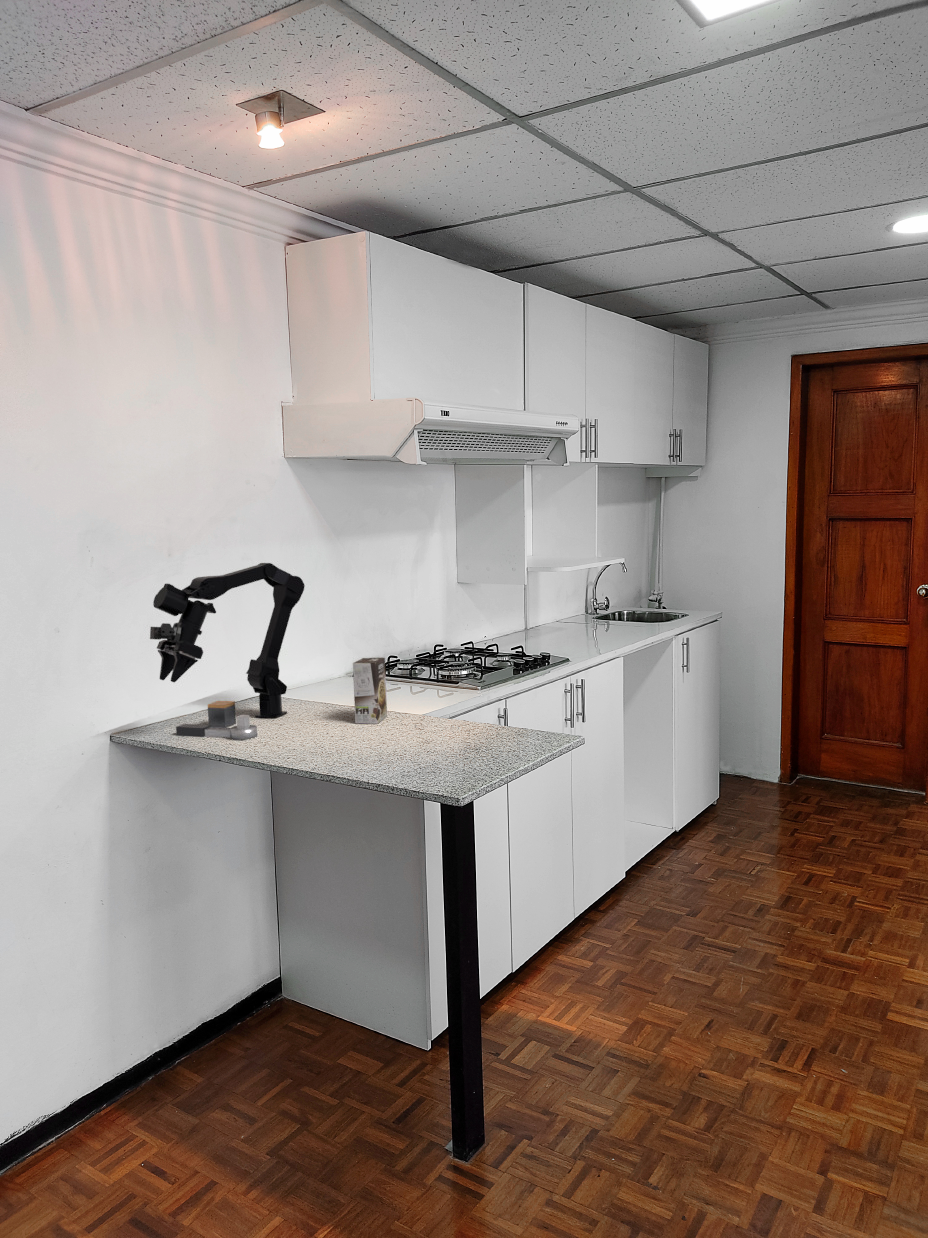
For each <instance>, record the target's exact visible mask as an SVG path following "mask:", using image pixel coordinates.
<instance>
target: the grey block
mask: <svg viewBox="0 0 928 1238" xmlns="http://www.w3.org/2000/svg"><path fill="white" fill-rule="evenodd" d="M207 717H208V718H207V719H208V725H211V727H222V728H230V727H231V726H234V725H237V714H236V702H235V701H234V700H217V701H214V702H211V703H209V704H207Z"/></svg>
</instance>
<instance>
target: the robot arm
mask: <svg viewBox="0 0 928 1238" xmlns="http://www.w3.org/2000/svg"><path fill="white" fill-rule="evenodd" d="M262 580H263V581H265V582H266V583H267V585H269V586H270V587H272V588H273V590H272V597H273V602H274V603H273V604H274V606H273V609H272V613H271V616H270V618H269V619H270V620H269V623H268V626H267V630H266V633H265V637H264V640H263V643H262V644H263V645H262V648H261V652H260V654H259V656H258V657H257V658H256V659H252V658H251V659H250V661H249V666H248V669H247V671H246V672H245V674H246V675H247V677H246V678H247V679H246V680H247V682H248V684H249V686H251V688H252V689H253V691H254V693H255V694H258V701H259V702H258V705H259V706H258V707H259V713H258V714H255V717H256V718H267V719H277V718H279V717H281V716H285V715H286V714H288V711H287V710H286V711H285V710H283V706H282V705H283V703H282V695H285V694H286V693H287V689H288V686H287V685H286V684H285V683H284V682H283V681H282V680H281V679H280V678H279V676H280V665H279V656H280V653H281V649H282V646H283V645H282V644H283V642H284V638H285V634H286V632H287V628H288V625H289V621H290V618H291V613H292V610H293V608H294V607H295V606H297V604H298V602H300V599H301V598H302V595H303V593H304V591H305V583H304V580H303V579H302V578H301V577H300V576H298V575H293V574H291V573H289V572H287V571H285V570H283V569H281V568H279V567H278V566H276V565H274V564H273V563H272V562H260V563H258V564H256V565H253V566H249V567H246V568H242V569H239V570H236V571H232V572H228V573H225V574H220V575H208V576H207V575H206V576H197V577H194V578H193V579H192V580H191V582H190V584H189V585H188V586H186V587H184V588H183V589H179V588H177V587H175V586H174V585H173V584H171V583H164V585H163V587H162V588H161V589H159V590H158V592H157V593H156V594H155V596H154V598H153V601H152V602H153V603H152V604H153V605H152V606H153V608H155V609H157V610H159V611H161V612H164V613H167V614H169V615H171V616H173V617H177V616H179V615H180V617H179V620H178V622H175V623H173V625H172V624H171V623H161V624H160V626H150V630H149V631H150V632H149V634H150V635H149V636H150V637H149V639H150V640H159V642H158V643H157V647H156V649H157V653H159V655H160V658H161V662H160V663H161V664H160V671H159V680H161V681H165V679H166V678H167V677H168V676H169V675H170V674H171V677H170V682H172V683H176V682H177V681H178V680H179V679H181V677H182V676H183V675H184V674H185V673H186V672H187V671H188V670H189V669H190V668H191V667H193V665H195V664H197V662H199V660H201V659H202V657H203V655H204V650H203V648H202V647H201V646H198V645H197V644H196V641H197V640H198V636H201V635H202V634H203V630H201V629H202V626H203V625H204V622H205V619H206V617H207V614H216V613H217V610H216V608H215V607H214V603H213V602H207V603H205V602H203V601H202V600H205V601H213V600H216V599H217V598H219V597H221V596H223V595H225V594H226V593H227V592H228V591H230V590H232V589H234V588H238V587H239V588H240V587H242V586H245V585H249V584H252V583H255V582H258V581H262ZM190 599H194V601H193V600H190ZM195 599H196V600H195Z"/></svg>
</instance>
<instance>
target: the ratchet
mask: <svg viewBox="0 0 928 1238" xmlns="http://www.w3.org/2000/svg"><path fill="white" fill-rule="evenodd" d="M175 730H176V731H175V732H176V736H178V737H179V736H180V737H181V736H183V737H184V736H185V737H197V738H198V737H200V738H204V736H205V737H207V738H222V737H225V738H226V737H227V739H231V740H232V739H233V741H246V740H245V739H249V740H252V739H251V738H253V739H255V737H256V738H257V737H258V727H257V725H255V724H250V714H240V715H236V725H235V726H234V725H233V726H232V727H227V728H222V727H211V725H209V724H198V723H197V724H195V723H194V724H193V723H183V724H180V725H177V726H176V727H175Z"/></svg>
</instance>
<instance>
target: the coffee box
mask: <svg viewBox="0 0 928 1238" xmlns="http://www.w3.org/2000/svg"><path fill="white" fill-rule="evenodd" d="M352 666H353V667H352V670H353V672H352V673H353V675H352V676H353V696H354V697H353V699H354V722H355V724H369V725H370V724H371V725H378V724H379V723H380V722H382V721H383V720H384V719H386V718H387V717H388V703H387V700H388V699H387V682H386V681H387V680H386V679H387V677H386V658H385V657H362V658H361V659H358V660H356V661H355V662H353V663H352Z"/></svg>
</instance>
